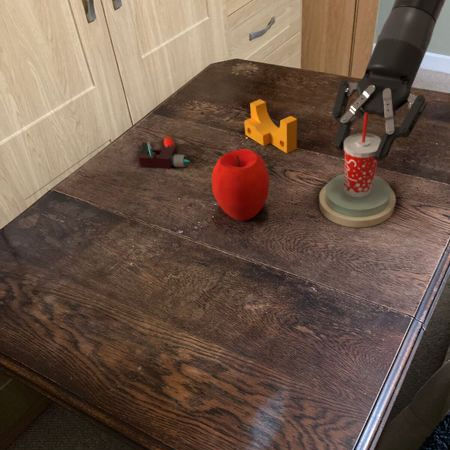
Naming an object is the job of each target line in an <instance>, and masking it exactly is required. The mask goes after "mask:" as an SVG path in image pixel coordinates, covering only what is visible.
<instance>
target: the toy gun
mask: <svg viewBox="0 0 450 450" xmlns="http://www.w3.org/2000/svg"><path fill="white" fill-rule="evenodd" d="M163 145H164V149H163V148H162V149H161V148H152V144H151V143H150V141H147V142H141V146H140V151H139V152H138V153H137V154H136V159H137V162H138V165H139V167H142V168H143V167H145V168H162V169H171V168H172V167H174V168H186V167H187V165H188V163H190V162H191V161H190V160H189V159H188V158H187V157H188V156H187V154H178V150H177V145H175V142H174V139H173V138H172V137H171V136H167V137H165V138H164V140H163Z"/></svg>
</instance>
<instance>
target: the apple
mask: <svg viewBox="0 0 450 450" xmlns="http://www.w3.org/2000/svg"><path fill="white" fill-rule="evenodd" d="M266 166H267V165H266V163H265V161H264V160H263V157H262V156H261V155H260V154H258V153H257V152H255V151H253V150H250V149H248V148H241V149H236V150H233V151H229V152H227V153H224V154H223V155H222V156H221V157H219V158H218V160H217V162H216V164H215V165H214V168H213V170H212V174H211V187H212V194H213V197H214V199H215V200H216V202H217V205H218V206H219V207H220V209H222V210H223V212H224V213H225V214H226V215H228V216H229V217H230V218H232V219H234V220H236V221H240V222H244V221H249V220H251V219H253V218H254V217H255V216H257V214H258V213H259V212H260V211H262V208H263V207H264V206H265V204H266V201H267V199H268V196H269V188H270V177H269V173H268V169H267V167H266Z"/></svg>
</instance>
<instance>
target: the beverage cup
mask: <svg viewBox="0 0 450 450" xmlns="http://www.w3.org/2000/svg"><path fill="white" fill-rule="evenodd" d="M368 120H369V114H368V112H366V113H365V115H364V121H363V129H362V132H357V133H353V134H349V136H348V137H347V138H346V139H345V140H344V149H343V151H344V166H343V167H344V171H343V174H344V192H345V193H346V194H347V195H349V196H351V197H356V198H357V197H364V196H367V195H368V194H370V192H371V189H372V185H373V180H374V176H375V175H376V172H377V171H376V170H377V166H378V163H379V161H377V160H376V159H375V154H376V151H377V149H378V147H379V144H380V142H381V139H382V137H379V135H376V134H373V133H370V132H367V129H368Z"/></svg>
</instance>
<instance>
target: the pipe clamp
mask: <svg viewBox="0 0 450 450" xmlns="http://www.w3.org/2000/svg"><path fill="white" fill-rule="evenodd" d="M249 106H250V118H247V119H245V120H244V135H245V136H246V137H248V138H250V139H252V140H253V141H255V142H256V143H258V144H260V145H261V146H262V147H265V146H267V145H269V144H271V145H272V146H274V147H276V148H277V149H279V150H280V151H282V152H284V153H285V154H288V153H291V152H293V151H296V150H297V147H298V118H296V117H294V116H292V115H289V116H288V117H285V118H283V119H281V120H280V123H279V126H277V125H276V124H275V123H274V122H273V121H272V118H271V117H270V115H269V112H268V108H267V102H266V101H265V100H262V99H260V98H259V99H257V100H254V101H252V102H249Z"/></svg>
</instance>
